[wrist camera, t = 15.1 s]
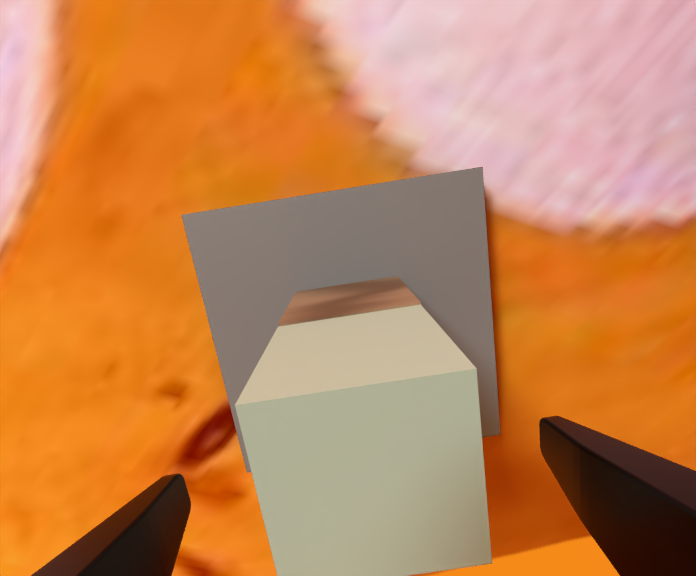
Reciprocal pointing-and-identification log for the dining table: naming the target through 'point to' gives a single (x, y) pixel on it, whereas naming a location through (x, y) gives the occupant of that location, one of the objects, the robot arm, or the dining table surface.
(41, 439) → the dining table surface
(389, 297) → the walnut cube
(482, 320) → the base board
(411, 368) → the sage cube
